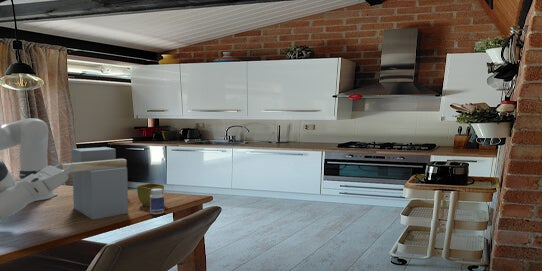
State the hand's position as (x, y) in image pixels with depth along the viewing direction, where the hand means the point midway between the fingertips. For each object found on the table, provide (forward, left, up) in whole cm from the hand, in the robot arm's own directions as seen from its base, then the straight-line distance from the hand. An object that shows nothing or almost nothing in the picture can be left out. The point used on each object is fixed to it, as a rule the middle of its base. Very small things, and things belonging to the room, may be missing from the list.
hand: (70, 164), depth 141 cm
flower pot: (0, +33, -22) cm, 39 cm away
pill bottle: (+14, +29, -22) cm, 39 cm away
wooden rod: (0, +9, -3) cm, 9 cm away
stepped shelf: (-6, +13, -22) cm, 26 cm away
